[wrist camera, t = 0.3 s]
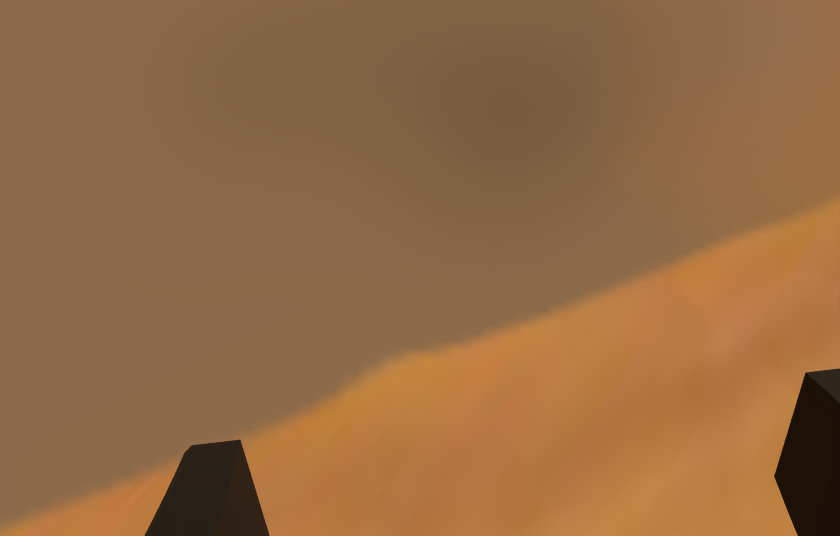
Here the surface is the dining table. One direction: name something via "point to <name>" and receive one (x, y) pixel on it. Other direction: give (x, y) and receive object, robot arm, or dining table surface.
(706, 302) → the dining table surface
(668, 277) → the dining table surface
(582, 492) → the dining table surface
